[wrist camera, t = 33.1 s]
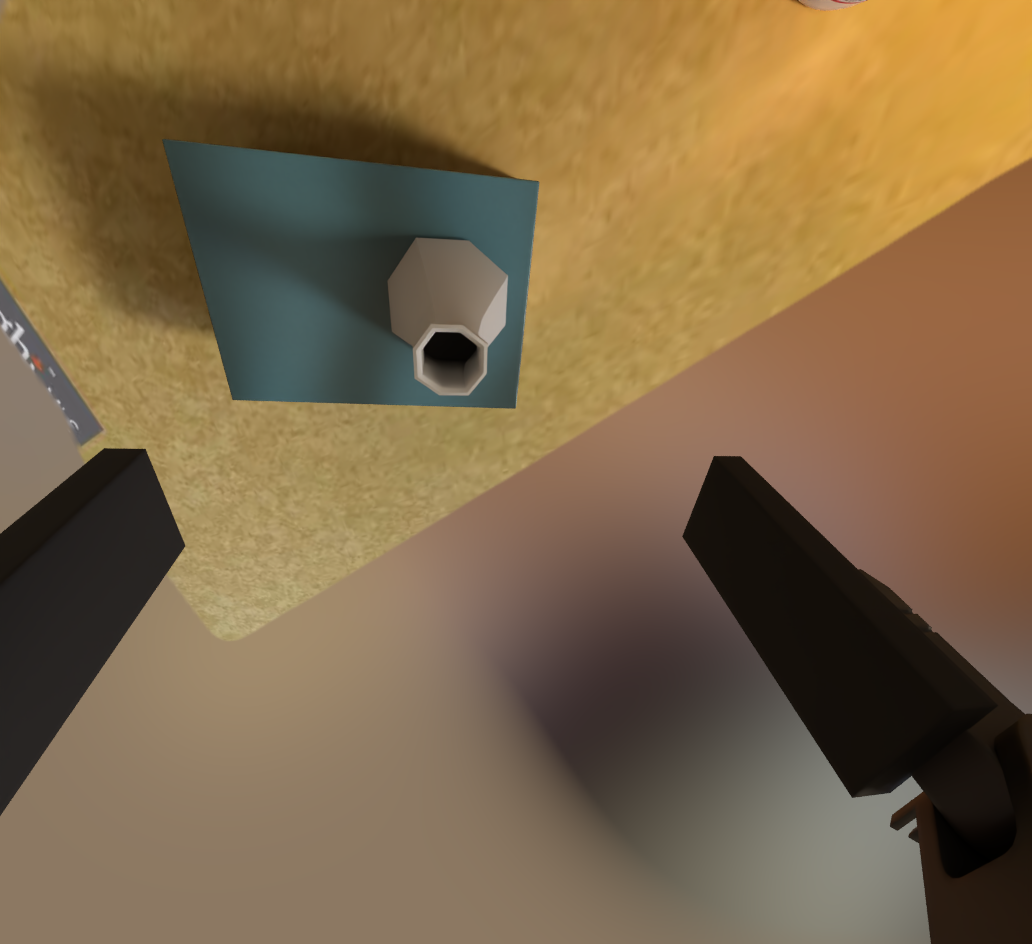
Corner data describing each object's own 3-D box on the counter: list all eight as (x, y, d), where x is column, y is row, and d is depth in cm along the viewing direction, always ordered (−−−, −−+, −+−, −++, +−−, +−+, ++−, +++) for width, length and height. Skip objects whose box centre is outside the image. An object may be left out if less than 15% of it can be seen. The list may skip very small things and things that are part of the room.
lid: (236, 395, 29) (232, 400, 28) (168, 139, 22) (160, 138, 21) (514, 404, 32) (516, 409, 31) (537, 181, 25) (539, 181, 24)
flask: (527, 265, 26) (565, 308, 18) (485, 376, 30) (500, 455, 22) (404, 212, 24) (382, 235, 16) (373, 339, 27) (343, 411, 19)
